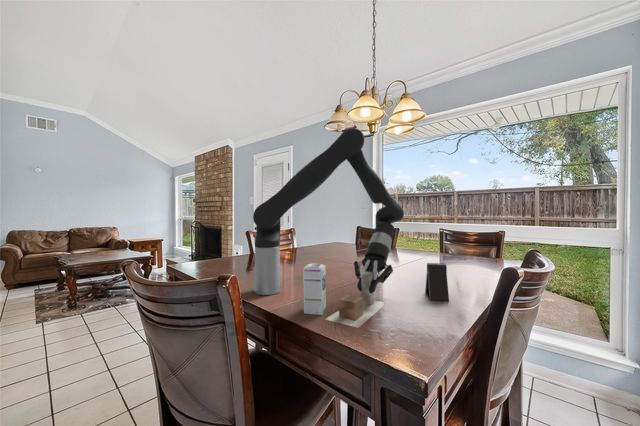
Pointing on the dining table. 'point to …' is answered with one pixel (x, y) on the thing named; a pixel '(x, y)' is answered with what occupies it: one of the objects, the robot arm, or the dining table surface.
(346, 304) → the walnut block
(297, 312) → the dining table surface
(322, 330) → the dining table surface
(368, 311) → the pale base with post
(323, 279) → the syrup box
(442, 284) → the door stopper
